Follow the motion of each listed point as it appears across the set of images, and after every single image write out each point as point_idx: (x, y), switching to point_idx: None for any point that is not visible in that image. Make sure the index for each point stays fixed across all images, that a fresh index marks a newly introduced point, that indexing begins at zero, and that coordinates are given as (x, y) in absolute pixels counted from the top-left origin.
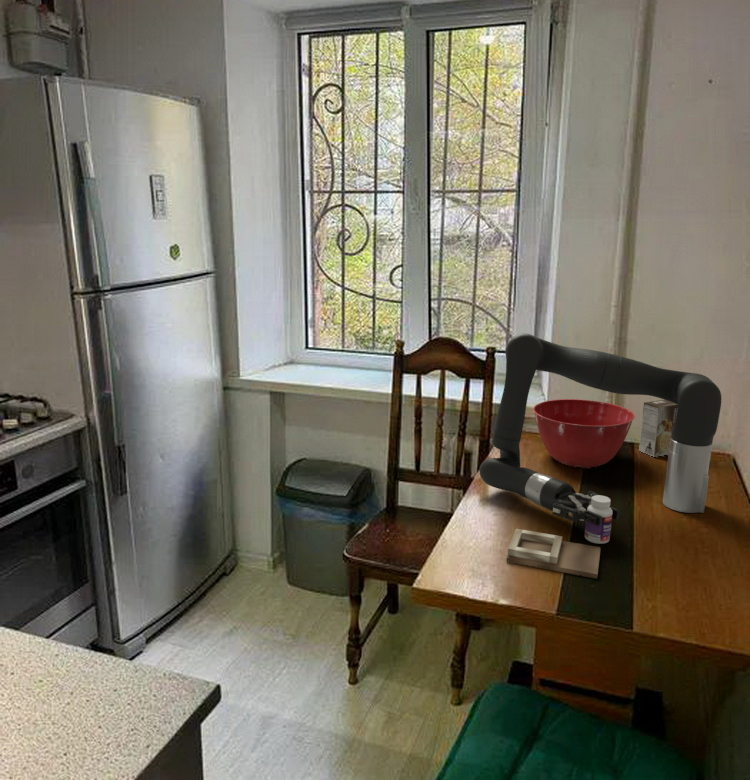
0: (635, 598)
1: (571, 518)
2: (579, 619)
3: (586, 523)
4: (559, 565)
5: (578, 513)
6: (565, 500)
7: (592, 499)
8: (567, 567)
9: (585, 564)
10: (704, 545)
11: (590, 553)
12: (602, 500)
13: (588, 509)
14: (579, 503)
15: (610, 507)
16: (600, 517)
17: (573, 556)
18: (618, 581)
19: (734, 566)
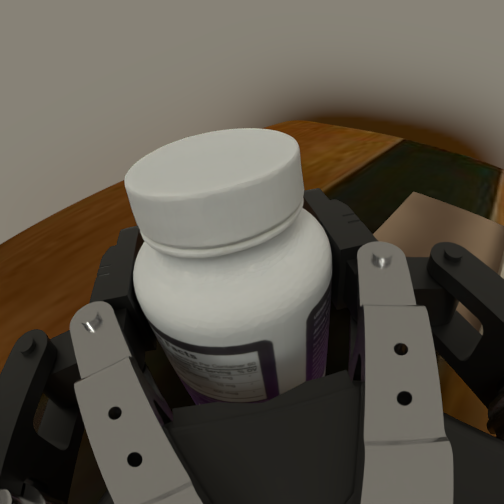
0: (361, 163)
1: (456, 317)
2: (471, 157)
3: (325, 349)
4: (500, 228)
5: (428, 258)
6: (470, 502)
7: (299, 157)
8: (481, 219)
9: (431, 220)
10: (32, 256)
11: None
12: (232, 137)
13: (328, 258)
14: (382, 313)
15: (128, 254)
16: (310, 190)
17: None
18: (364, 191)
19: (87, 202)
